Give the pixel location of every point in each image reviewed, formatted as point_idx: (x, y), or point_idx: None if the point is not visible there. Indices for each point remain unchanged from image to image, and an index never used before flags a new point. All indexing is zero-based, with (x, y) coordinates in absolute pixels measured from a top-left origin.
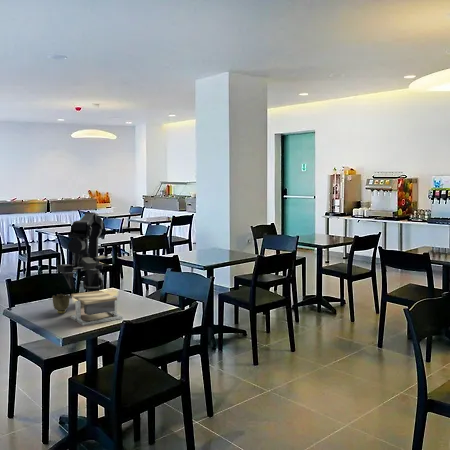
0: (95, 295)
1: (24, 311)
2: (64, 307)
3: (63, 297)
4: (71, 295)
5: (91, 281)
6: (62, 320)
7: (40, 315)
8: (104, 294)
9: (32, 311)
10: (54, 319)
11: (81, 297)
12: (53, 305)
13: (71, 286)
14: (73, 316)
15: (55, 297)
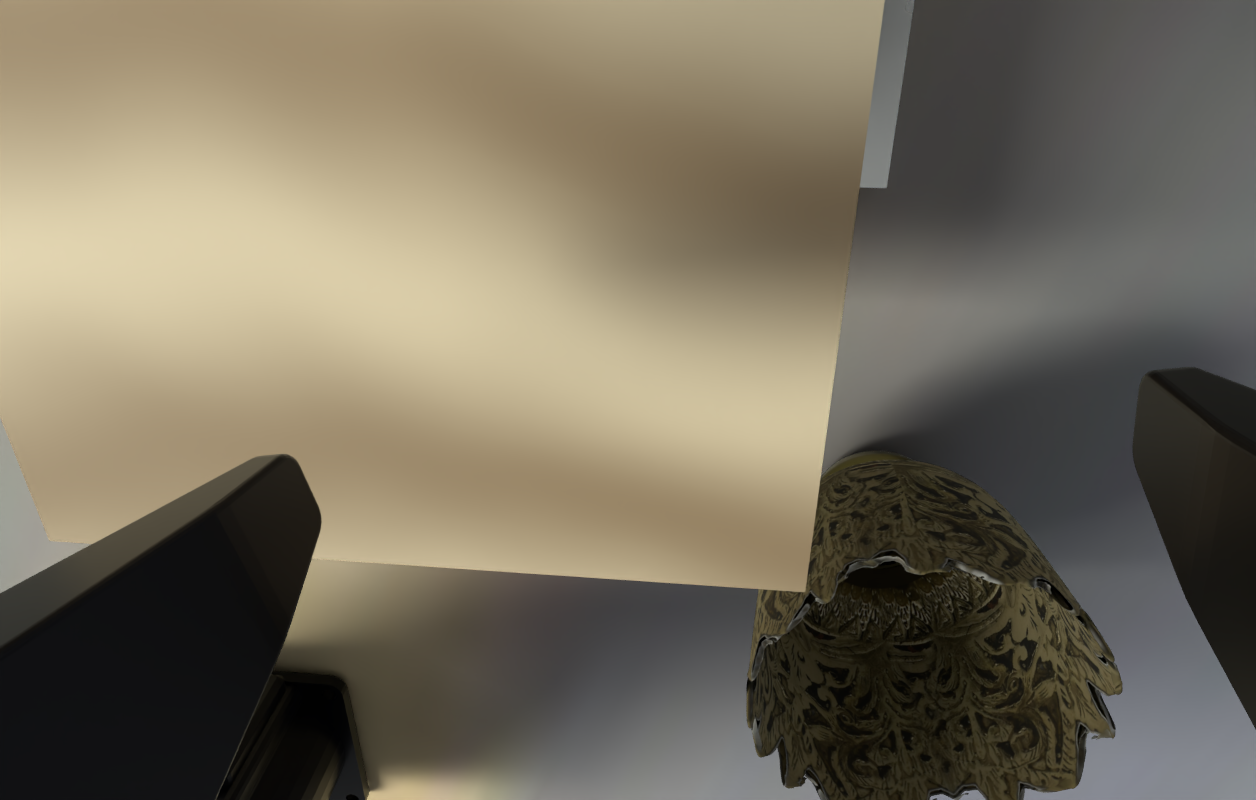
0: (283, 148)
1: (1198, 795)
2: (895, 466)
3: (807, 735)
4: (803, 561)
5: (141, 535)
6: (1086, 111)
7: (1167, 556)
8: (8, 119)
9: (1122, 751)
10: (1151, 251)
11: (740, 147)
12: (1015, 618)
13: (1239, 390)
14: (881, 105)
15: (958, 770)
